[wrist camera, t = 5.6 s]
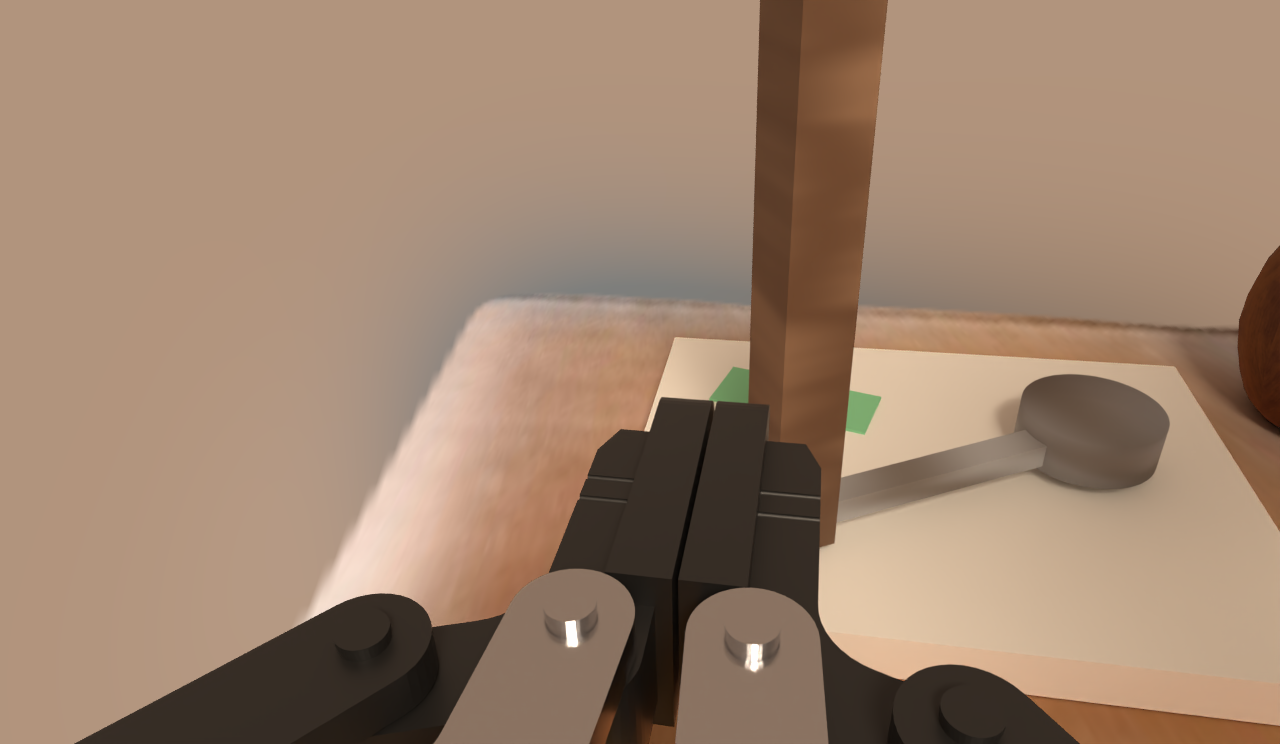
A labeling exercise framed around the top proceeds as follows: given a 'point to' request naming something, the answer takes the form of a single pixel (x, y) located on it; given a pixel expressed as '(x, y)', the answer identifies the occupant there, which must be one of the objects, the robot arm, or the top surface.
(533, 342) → the top surface
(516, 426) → the top surface
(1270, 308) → the wooden figurine
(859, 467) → the dial plate
